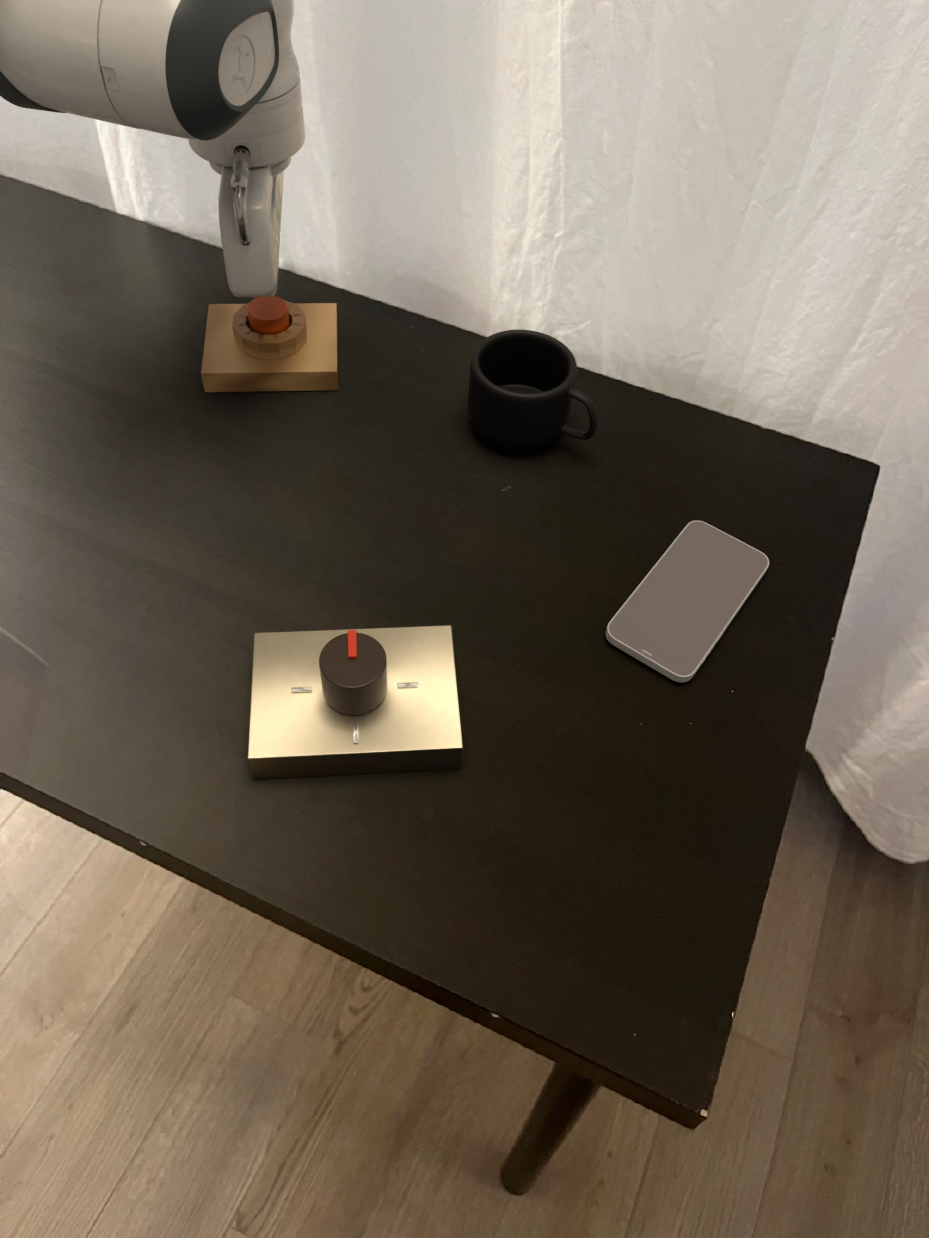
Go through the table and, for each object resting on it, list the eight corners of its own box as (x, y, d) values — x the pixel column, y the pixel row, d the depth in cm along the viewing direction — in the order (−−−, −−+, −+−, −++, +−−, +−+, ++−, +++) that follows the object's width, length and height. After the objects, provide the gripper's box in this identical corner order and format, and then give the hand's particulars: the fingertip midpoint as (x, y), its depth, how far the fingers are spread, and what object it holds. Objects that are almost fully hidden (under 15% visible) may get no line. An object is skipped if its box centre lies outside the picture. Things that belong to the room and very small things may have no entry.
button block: (204, 392, 86) (197, 356, 83) (212, 323, 92) (205, 287, 89) (338, 390, 87) (336, 355, 84) (337, 322, 93) (335, 286, 90)
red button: (248, 336, 86) (246, 320, 84) (250, 311, 88) (247, 295, 86) (289, 336, 86) (287, 320, 85) (290, 311, 88) (288, 295, 87)
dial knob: (388, 713, 64) (388, 683, 61) (322, 717, 64) (318, 687, 61) (385, 659, 67) (385, 627, 64) (322, 662, 66) (318, 630, 63)
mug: (446, 432, 85) (450, 368, 79) (500, 379, 90) (506, 314, 84) (563, 490, 81) (575, 428, 76) (612, 431, 86) (628, 368, 80)
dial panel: (253, 779, 64) (247, 757, 62) (259, 656, 70) (253, 631, 67) (460, 768, 65) (463, 746, 63) (449, 648, 71) (451, 623, 69)
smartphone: (774, 558, 77) (688, 682, 69) (771, 566, 78) (685, 689, 70) (693, 515, 79) (601, 631, 71) (690, 523, 80) (599, 638, 72)
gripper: (282, 192, 66) (300, 354, 77) (290, 55, 78) (305, 213, 89) (189, 192, 65) (221, 355, 76) (211, 54, 77) (236, 213, 88)
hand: (266, 278), depth 83 cm, fingers closed
